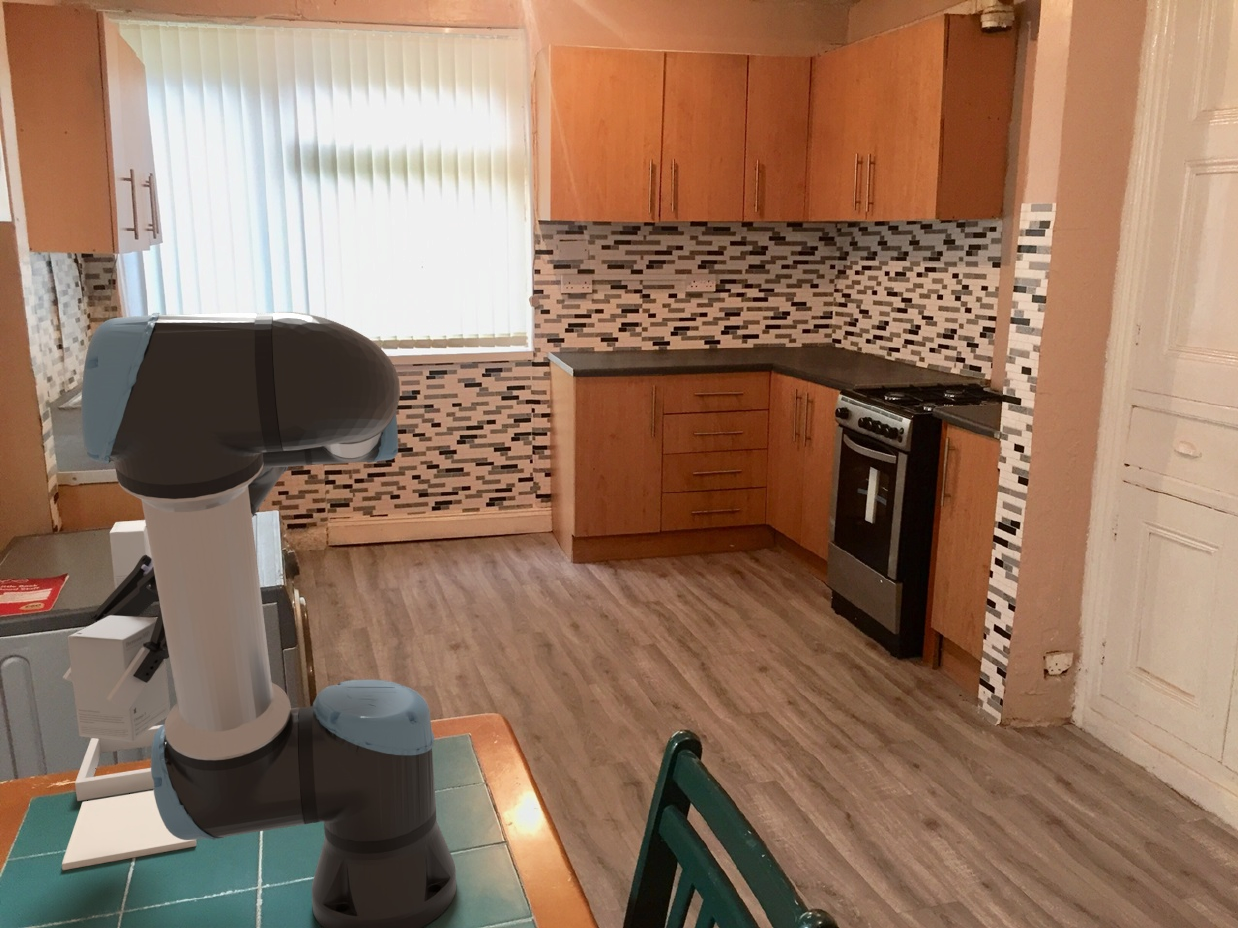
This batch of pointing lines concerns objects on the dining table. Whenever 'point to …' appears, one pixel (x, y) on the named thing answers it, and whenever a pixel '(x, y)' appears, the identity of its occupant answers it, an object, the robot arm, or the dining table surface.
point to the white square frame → (115, 782)
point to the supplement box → (114, 679)
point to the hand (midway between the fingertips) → (94, 693)
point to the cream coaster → (119, 831)
